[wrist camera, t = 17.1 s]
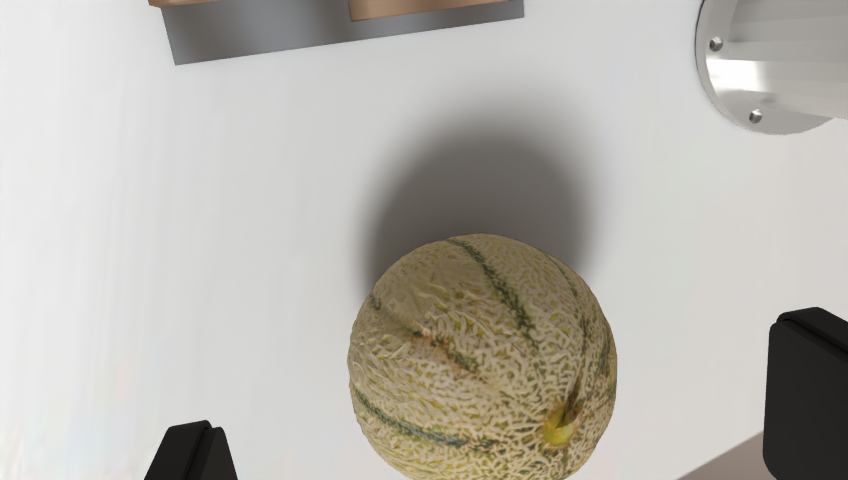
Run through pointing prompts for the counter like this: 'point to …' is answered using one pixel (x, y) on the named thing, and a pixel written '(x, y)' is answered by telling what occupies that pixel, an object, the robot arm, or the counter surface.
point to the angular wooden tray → (310, 22)
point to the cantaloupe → (482, 363)
